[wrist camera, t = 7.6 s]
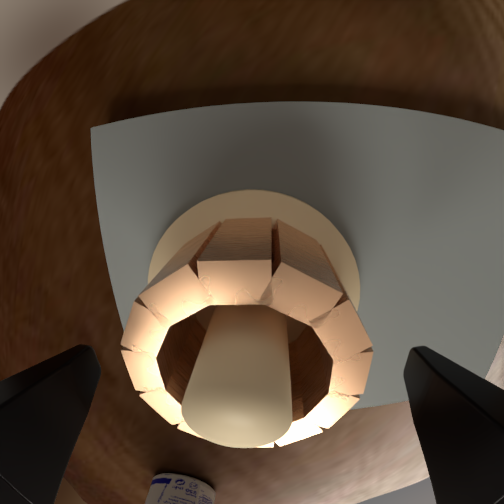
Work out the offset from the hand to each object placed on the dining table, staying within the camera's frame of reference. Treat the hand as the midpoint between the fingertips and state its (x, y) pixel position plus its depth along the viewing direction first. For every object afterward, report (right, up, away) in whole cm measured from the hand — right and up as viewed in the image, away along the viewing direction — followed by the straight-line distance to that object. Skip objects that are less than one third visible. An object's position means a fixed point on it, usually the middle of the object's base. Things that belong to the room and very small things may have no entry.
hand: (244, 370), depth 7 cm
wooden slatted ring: (0, +1, +4) cm, 4 cm away
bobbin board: (+4, +2, +5) cm, 7 cm away
